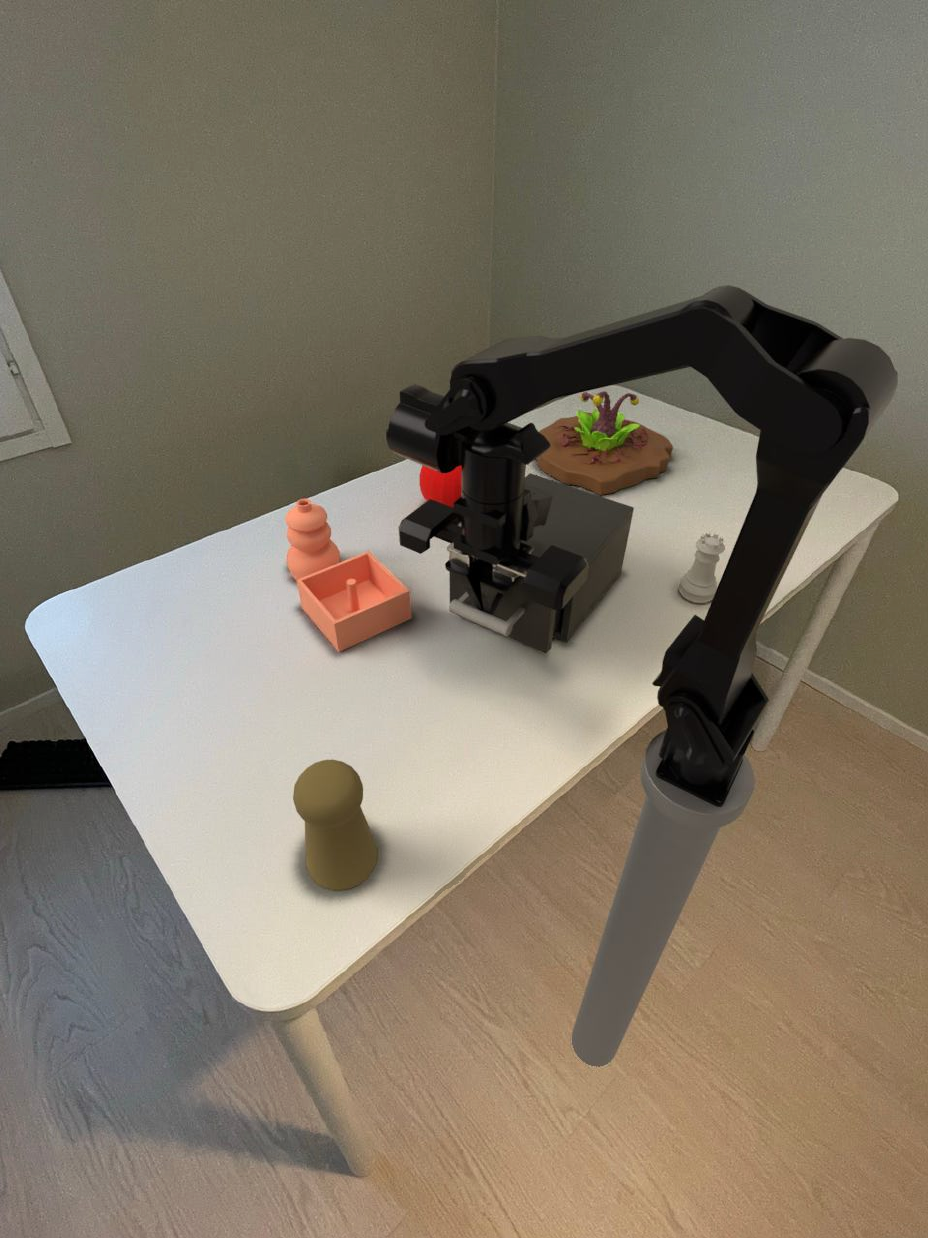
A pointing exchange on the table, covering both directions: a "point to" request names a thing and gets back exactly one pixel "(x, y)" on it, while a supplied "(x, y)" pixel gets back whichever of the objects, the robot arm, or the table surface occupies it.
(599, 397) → the plant
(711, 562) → the rook chess piece
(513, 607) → the dark grey drawer
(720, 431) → the table surface
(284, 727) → the table surface
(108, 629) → the table surface
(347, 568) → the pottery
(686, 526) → the table surface
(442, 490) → the tomato
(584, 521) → the dark grey drawer box
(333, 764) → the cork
